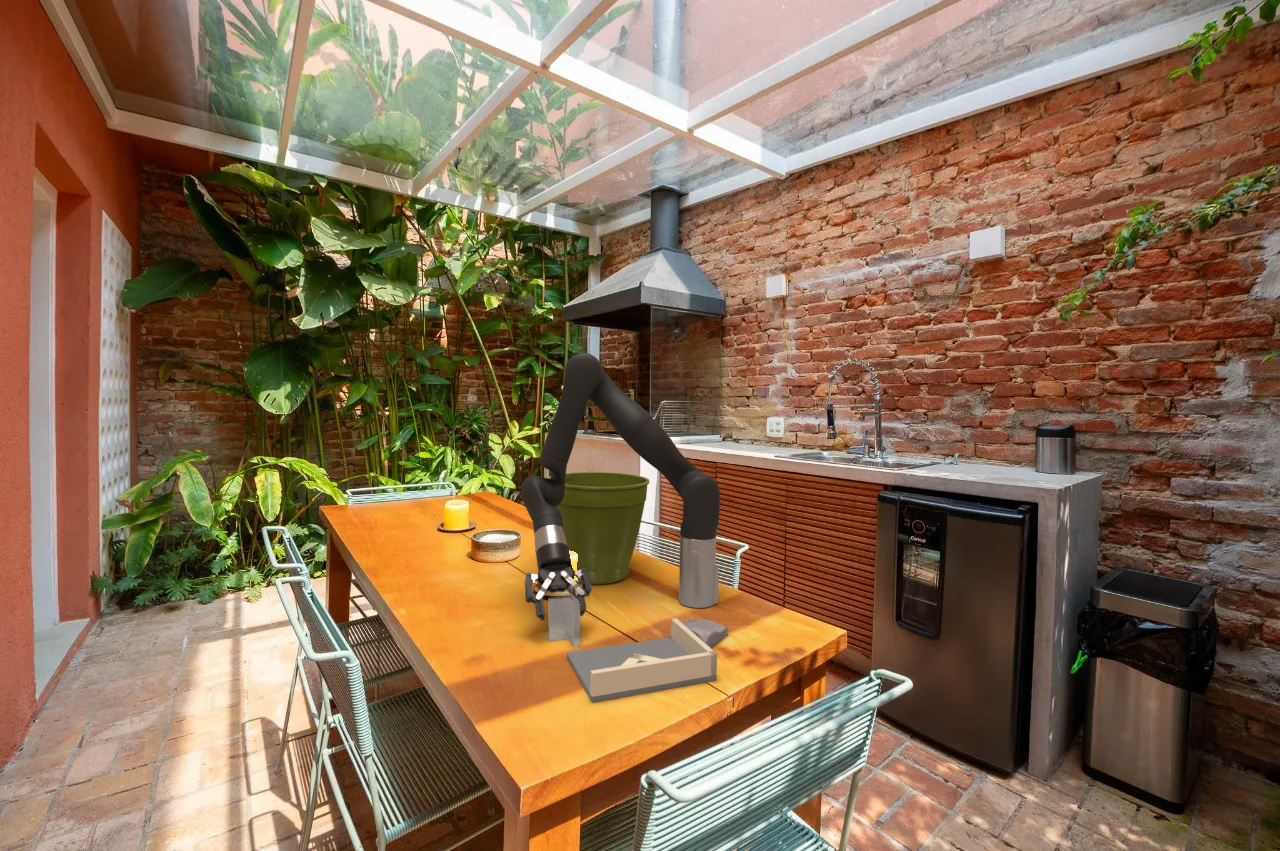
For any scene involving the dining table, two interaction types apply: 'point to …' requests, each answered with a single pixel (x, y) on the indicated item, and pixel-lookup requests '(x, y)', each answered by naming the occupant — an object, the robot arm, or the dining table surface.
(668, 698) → the dining table surface
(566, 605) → the bracket
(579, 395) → the robot arm
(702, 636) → the stone block
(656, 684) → the arena
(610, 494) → the plant pot
